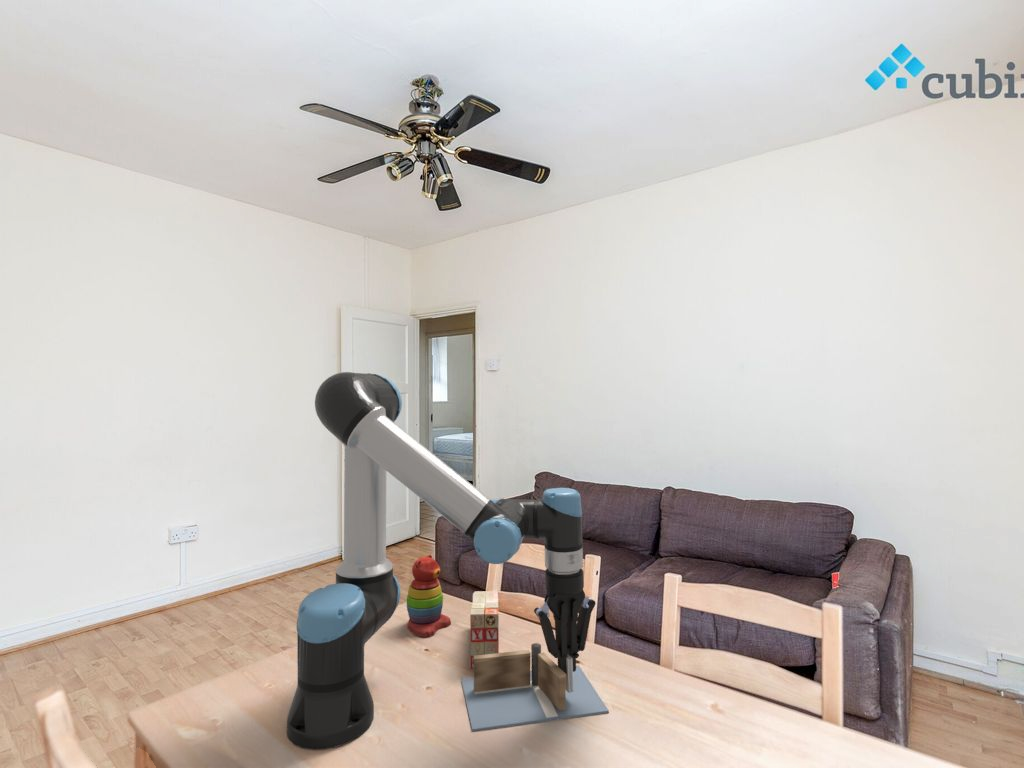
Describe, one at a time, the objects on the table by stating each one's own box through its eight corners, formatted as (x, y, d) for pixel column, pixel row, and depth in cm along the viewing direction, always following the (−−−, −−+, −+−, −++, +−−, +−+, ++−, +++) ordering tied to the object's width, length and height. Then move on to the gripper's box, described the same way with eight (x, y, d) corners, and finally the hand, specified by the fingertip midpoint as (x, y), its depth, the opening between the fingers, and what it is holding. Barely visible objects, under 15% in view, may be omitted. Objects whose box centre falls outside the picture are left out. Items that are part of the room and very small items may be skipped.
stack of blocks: (474, 626, 137) (474, 579, 138) (498, 626, 138) (498, 578, 138) (470, 670, 116) (470, 613, 116) (498, 669, 116) (498, 613, 116)
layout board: (472, 731, 95) (472, 728, 95) (461, 680, 111) (461, 678, 111) (608, 712, 100) (608, 710, 100) (578, 667, 117) (578, 665, 117)
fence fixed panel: (474, 693, 106) (474, 654, 106) (473, 688, 108) (473, 649, 108) (542, 685, 109) (542, 647, 109) (539, 680, 111) (539, 642, 111)
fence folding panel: (537, 686, 107) (537, 653, 108) (543, 685, 108) (543, 652, 108) (559, 710, 99) (559, 675, 99) (565, 709, 100) (565, 673, 100)
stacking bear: (427, 639, 130) (427, 566, 130) (396, 630, 135) (396, 560, 136) (454, 623, 139) (454, 555, 140) (424, 614, 145) (424, 549, 145)
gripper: (544, 580, 98) (548, 707, 98) (601, 568, 103) (605, 690, 103) (527, 568, 105) (530, 687, 105) (581, 558, 110) (584, 671, 110)
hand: (567, 688), depth 104 cm, fingers closed
